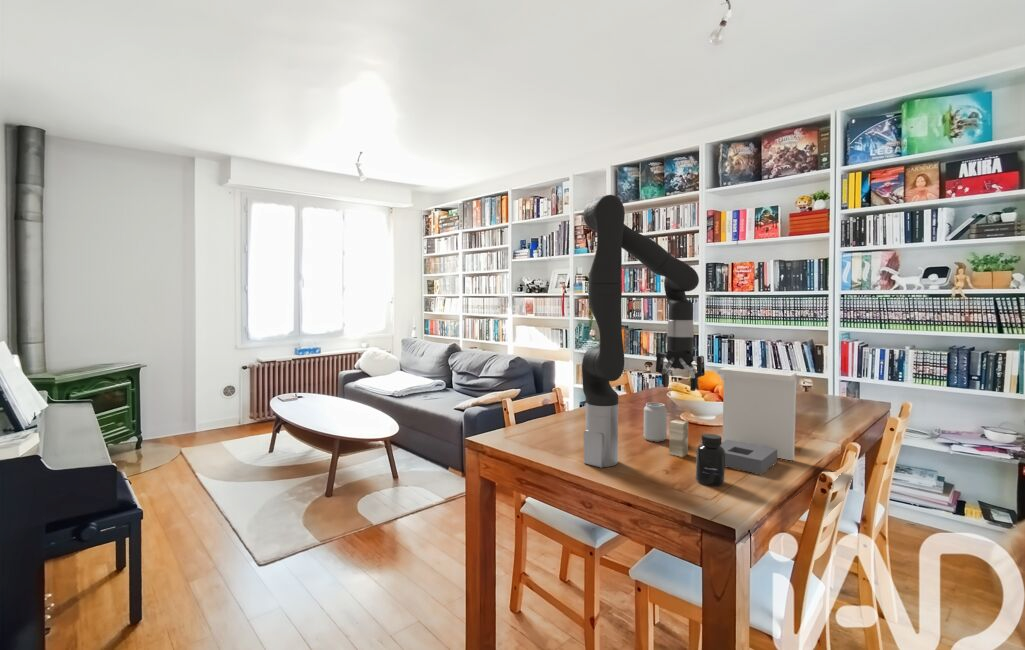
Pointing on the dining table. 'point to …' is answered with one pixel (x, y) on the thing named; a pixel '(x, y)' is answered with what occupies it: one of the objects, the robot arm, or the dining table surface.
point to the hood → (760, 408)
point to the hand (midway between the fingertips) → (679, 388)
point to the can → (655, 422)
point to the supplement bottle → (710, 461)
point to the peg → (678, 438)
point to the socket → (748, 456)
